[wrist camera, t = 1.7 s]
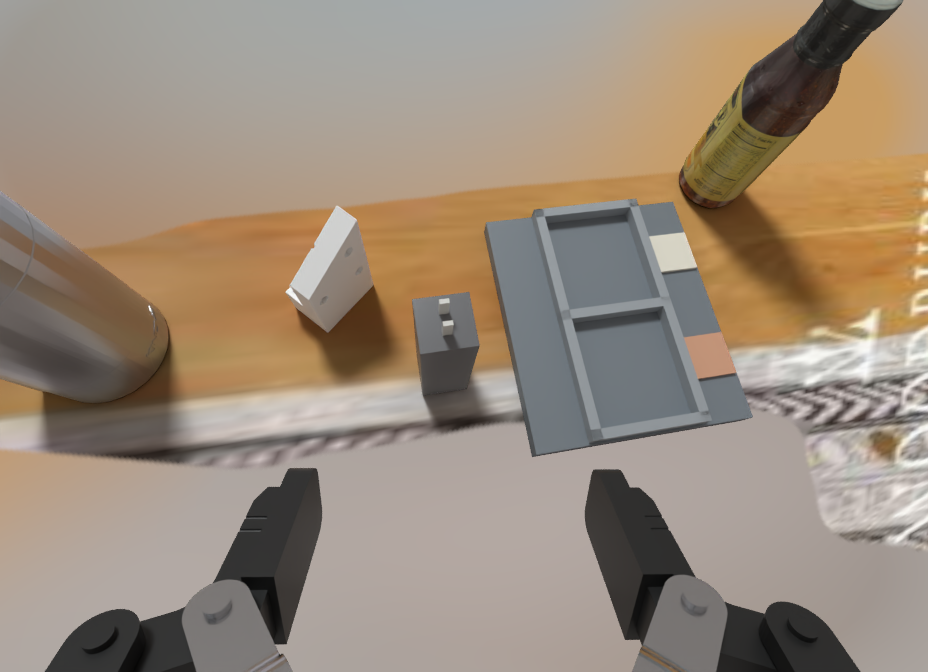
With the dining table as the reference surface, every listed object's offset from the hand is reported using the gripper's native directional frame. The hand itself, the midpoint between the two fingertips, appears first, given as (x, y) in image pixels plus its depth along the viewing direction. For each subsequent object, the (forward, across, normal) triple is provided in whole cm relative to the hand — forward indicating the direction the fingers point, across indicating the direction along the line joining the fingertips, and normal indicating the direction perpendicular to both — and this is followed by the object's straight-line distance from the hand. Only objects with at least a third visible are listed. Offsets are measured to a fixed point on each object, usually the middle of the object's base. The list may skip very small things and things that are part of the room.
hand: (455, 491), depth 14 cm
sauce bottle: (+38, -26, -4) cm, 46 cm away
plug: (+24, 0, +9) cm, 26 cm away
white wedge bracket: (+29, +10, +5) cm, 31 cm away
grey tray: (+27, -14, +6) cm, 31 cm away
